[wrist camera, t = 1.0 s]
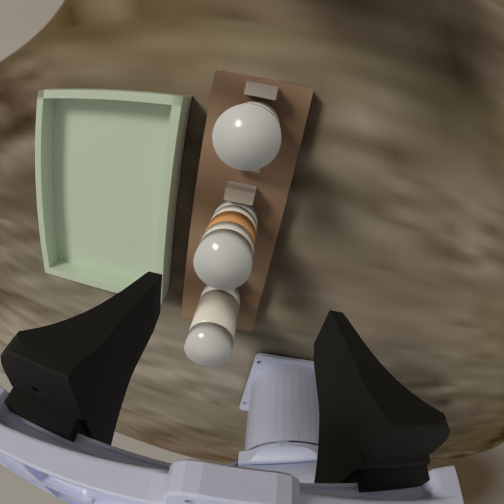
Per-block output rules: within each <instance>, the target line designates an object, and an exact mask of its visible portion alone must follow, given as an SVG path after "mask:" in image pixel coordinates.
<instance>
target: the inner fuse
mask: <svg viewBox="0 0 504 504" xmlns="http://www.w3.org/2000/svg"><path fill="white" fill-rule="evenodd" d="M240 299H241V297H240V293H239V291H238V289H237V288H235V291H234V292H233V291H229V290H221V289H216V288H213V287H210V286H209V285H206V286H205V287H204V289H203V291H202V294H201V297H200V300H199V303H198V306H197V309H196V312H195V315H194V318H193V321H192V324H191V327H190V330H189V333H188V336H187V339H186V342H185V346H184V350H185V353H186V355H187V356H188V358H189V359H190V360H192V361H193V362H194V363H196V364H198V365H201V366H204V367H210V368H215V367H220V366H223V365H225V364H226V363H228V362H229V360H230V358H231V354H232V348H233V342H234V335H235V329H236V323H237V317H238V311H239V305H240Z"/></svg>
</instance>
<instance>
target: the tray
mask: <svg viewBox="0 0 504 504" xmlns="http://www.w3.org/2000/svg"><path fill="white" fill-rule="evenodd" d="M191 100H192V96H188V95H180V94H171V93H162V92H151V91H138V90H122V89H98V88H55V89H46V90H38V98H37V112H36V133H35V174H36V196H37V210H38V221H39V231H40V239H41V247H42V254H43V261H44V267H45V272H46V273H49V274H53V275H56V276H59V277H62V278H66V279H69V280H72V281H76V282H79V283H83V284H86V285H90V286H93V287H97V288H100V289H104V290H107V291H111V292H115V293H119V292H120V291H122V290H123V289H125V288H126V287H128V286H129V285H130V284H132V283H133V282H135V281H136V280H137V279H139V278H140V277H141V276H143V275H144V274H146V273H147V272H149V271H150V272H154V273H158V274H162V288H161V304H162V302H163V300H164V298H165V296H166V294H167V292H168V290H169V283H170V269H171V257H172V245H173V234H174V224H175V214H176V205H177V196H178V188H179V180H180V172H181V164H182V157H183V150H184V143H185V137H186V130H187V124H188V118H189V112H190V106H191Z"/></svg>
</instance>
